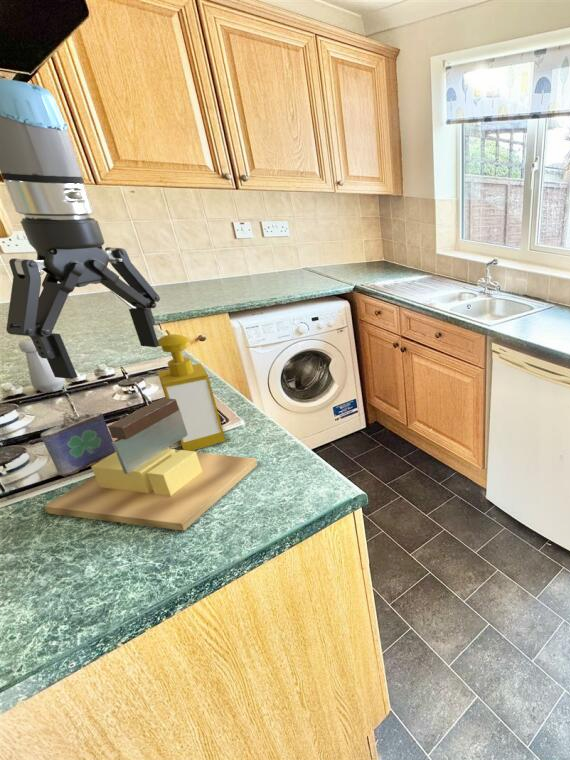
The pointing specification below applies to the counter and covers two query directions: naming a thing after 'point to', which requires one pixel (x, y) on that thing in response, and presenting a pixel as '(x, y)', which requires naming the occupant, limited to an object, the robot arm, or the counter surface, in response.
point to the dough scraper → (147, 433)
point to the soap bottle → (190, 395)
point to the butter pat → (174, 472)
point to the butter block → (137, 480)
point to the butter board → (157, 497)
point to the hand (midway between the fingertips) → (112, 360)
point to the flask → (78, 442)
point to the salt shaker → (40, 369)
